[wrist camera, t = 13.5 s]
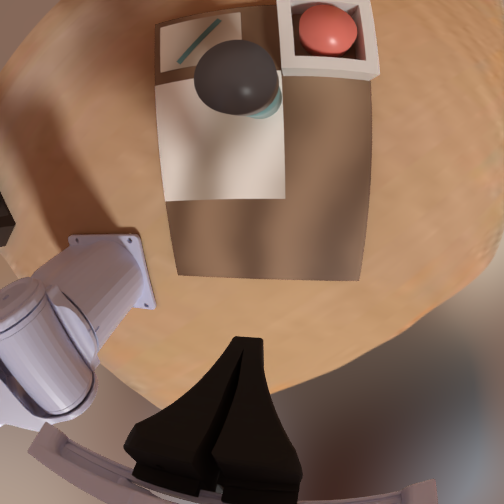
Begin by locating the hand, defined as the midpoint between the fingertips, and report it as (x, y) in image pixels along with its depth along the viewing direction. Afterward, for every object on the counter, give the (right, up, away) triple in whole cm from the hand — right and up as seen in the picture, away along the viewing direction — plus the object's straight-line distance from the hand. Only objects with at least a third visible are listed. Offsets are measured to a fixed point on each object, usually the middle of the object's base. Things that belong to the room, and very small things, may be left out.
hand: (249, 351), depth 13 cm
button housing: (+5, +19, +1) cm, 20 cm away
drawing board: (+1, +13, +5) cm, 14 cm away
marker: (+1, +15, +3) cm, 15 cm away
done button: (+5, +19, 0) cm, 19 cm away
